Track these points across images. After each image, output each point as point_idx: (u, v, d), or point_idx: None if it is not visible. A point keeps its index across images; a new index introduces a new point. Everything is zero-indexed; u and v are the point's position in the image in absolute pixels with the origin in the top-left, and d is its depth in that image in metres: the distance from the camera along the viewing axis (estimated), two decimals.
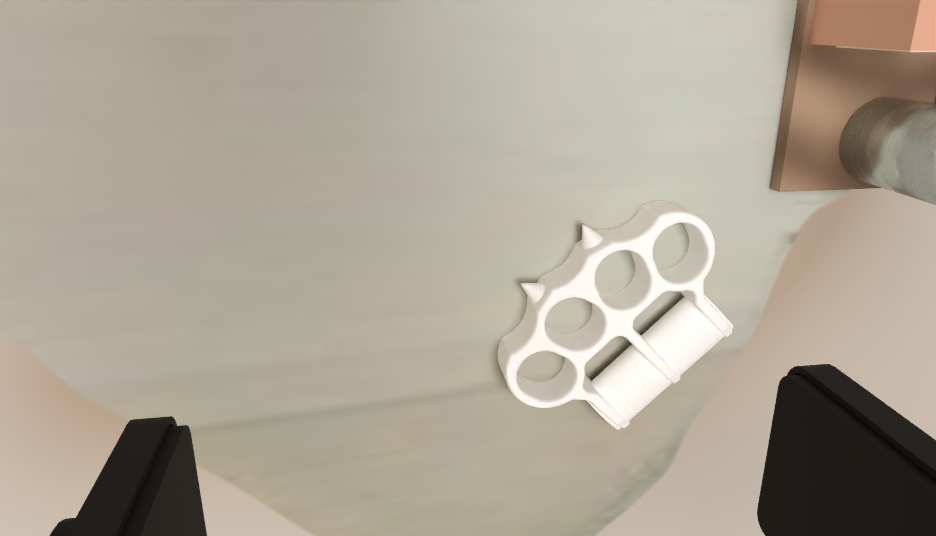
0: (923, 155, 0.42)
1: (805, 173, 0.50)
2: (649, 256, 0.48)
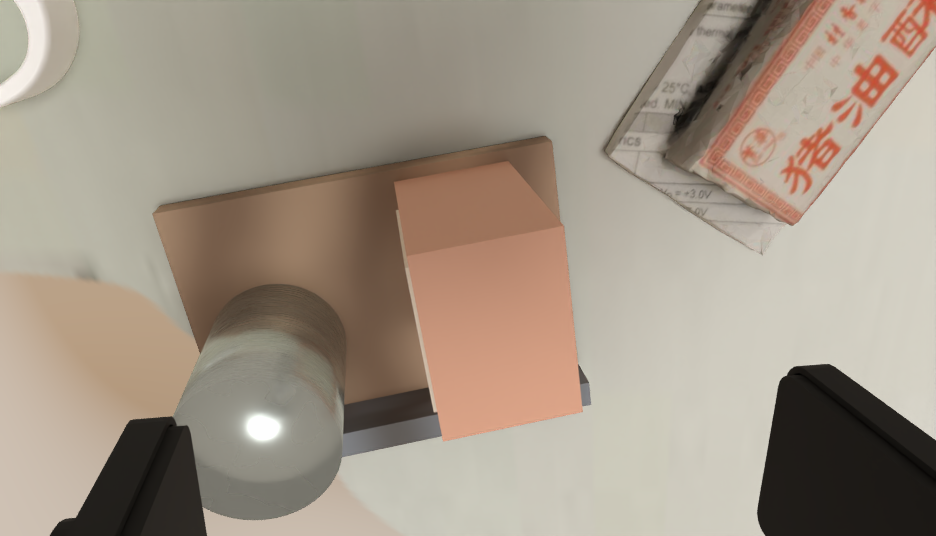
0: (245, 370, 0.24)
1: (196, 248, 0.30)
2: None
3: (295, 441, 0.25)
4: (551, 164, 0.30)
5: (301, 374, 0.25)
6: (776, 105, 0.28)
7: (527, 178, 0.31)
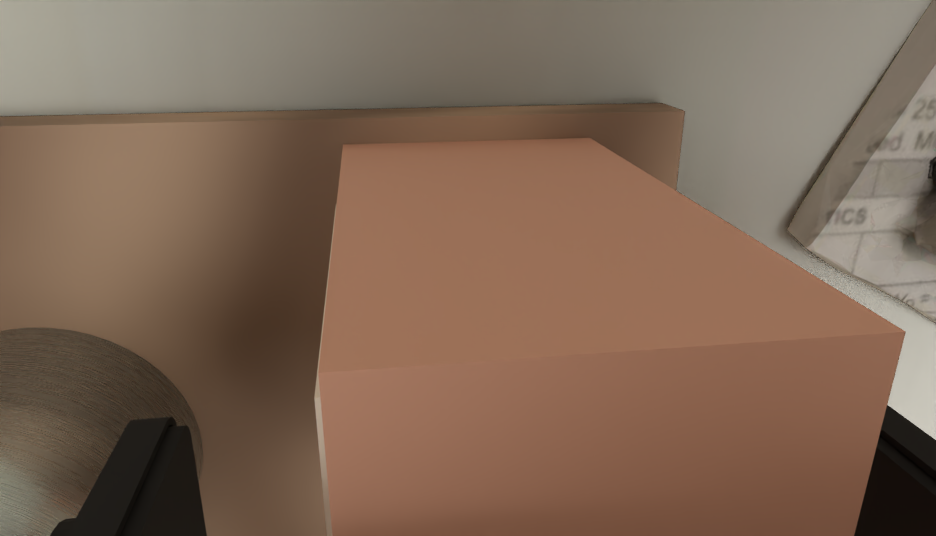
0: None
1: None
2: None
3: None
4: (673, 159, 0.15)
5: None
6: None
7: None
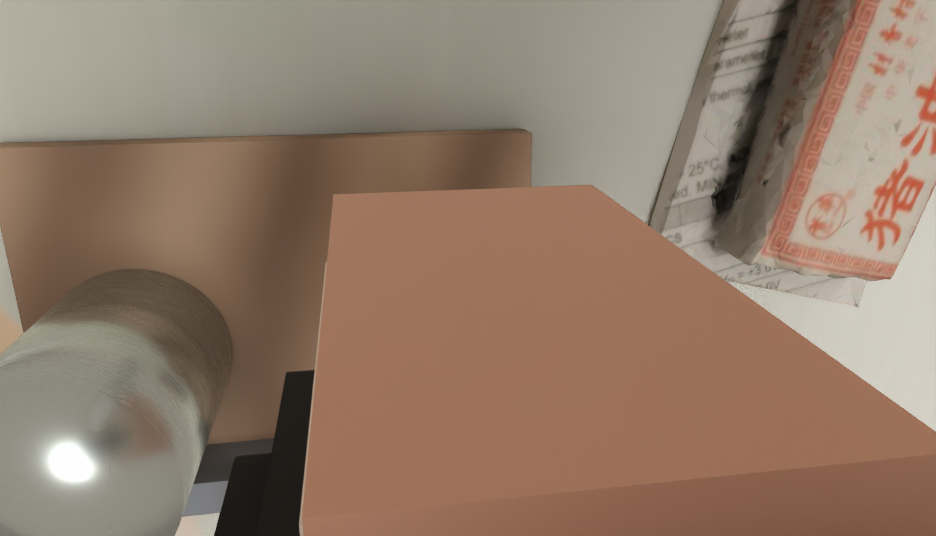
0: (50, 371, 0.16)
1: (40, 204, 0.22)
2: None
3: (113, 487, 0.16)
4: (527, 162, 0.24)
5: (138, 389, 0.17)
6: (834, 164, 0.23)
7: (495, 176, 0.24)
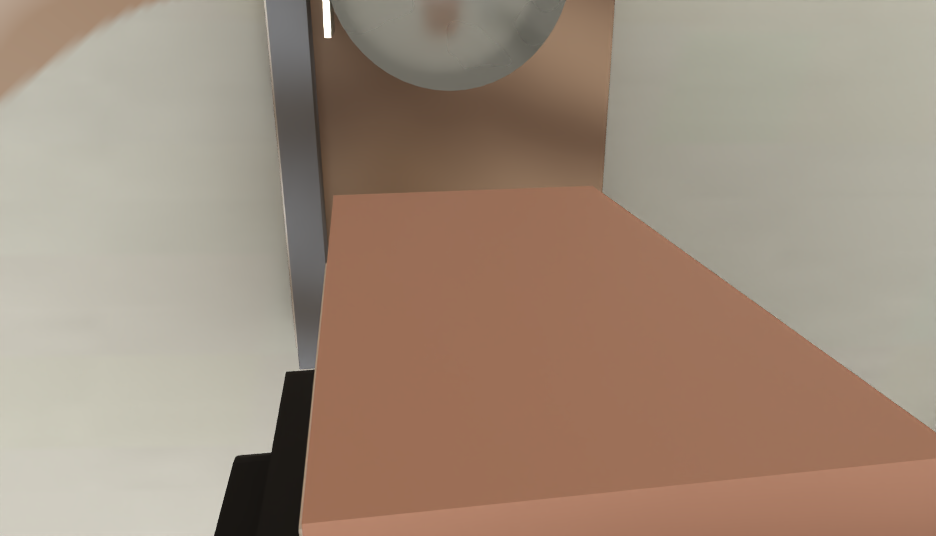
0: None
1: None
2: None
3: (452, 25, 0.17)
4: None
5: None
6: None
7: None
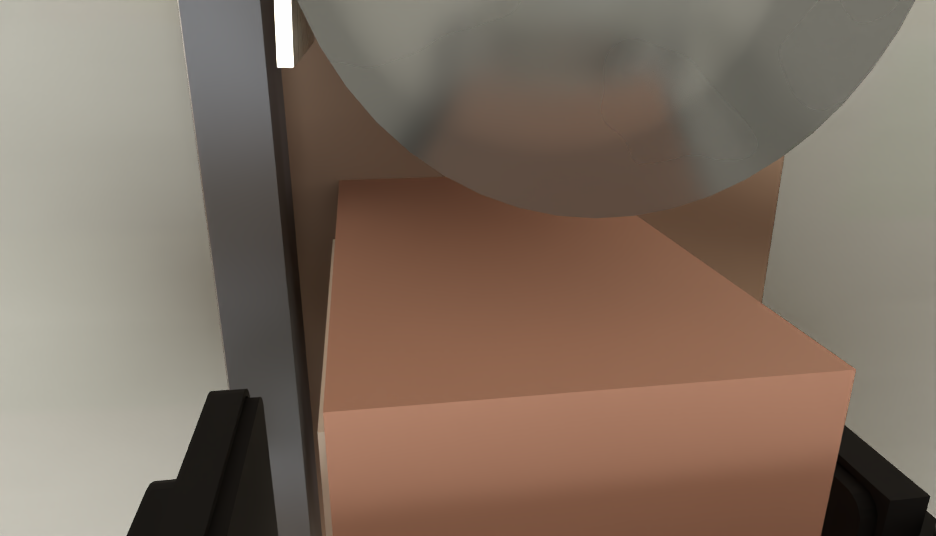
0: None
1: None
2: None
3: (622, 52, 0.06)
4: None
5: None
6: None
7: None
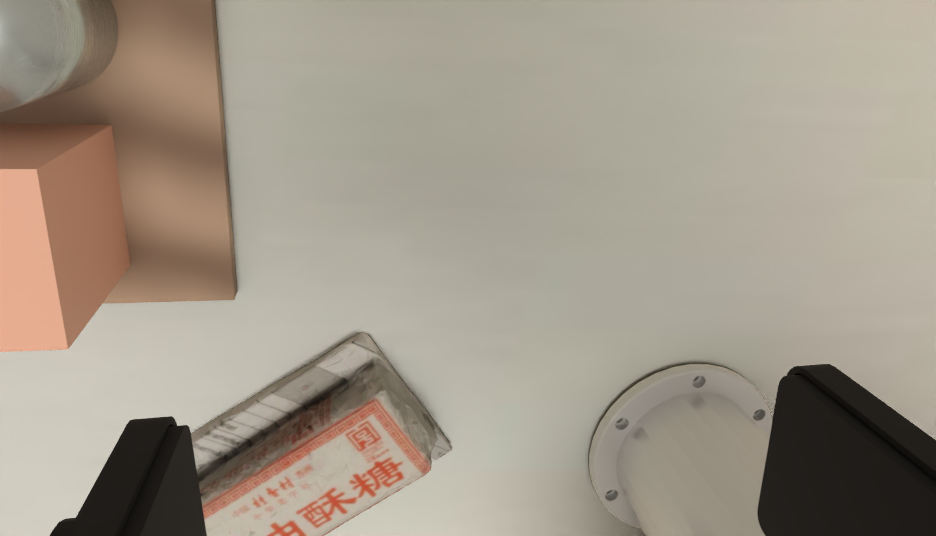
0: (60, 47, 0.24)
1: None
2: None
3: None
4: (213, 298, 0.36)
5: (41, 92, 0.25)
6: None
7: (203, 278, 0.36)
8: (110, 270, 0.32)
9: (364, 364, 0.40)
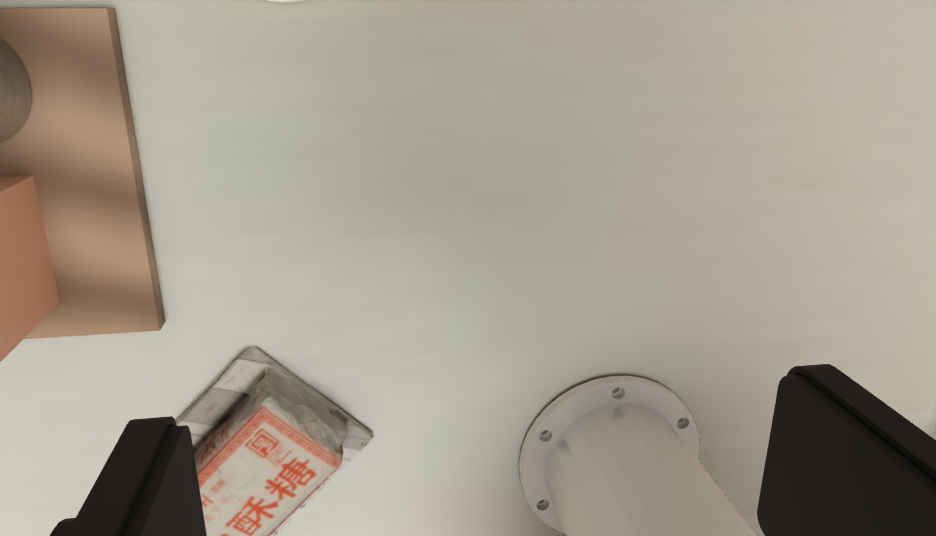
0: None
1: (71, 36, 0.34)
2: None
3: None
4: (140, 329, 0.39)
5: None
6: None
7: (129, 311, 0.39)
8: (33, 309, 0.35)
9: (257, 376, 0.41)
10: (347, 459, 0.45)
